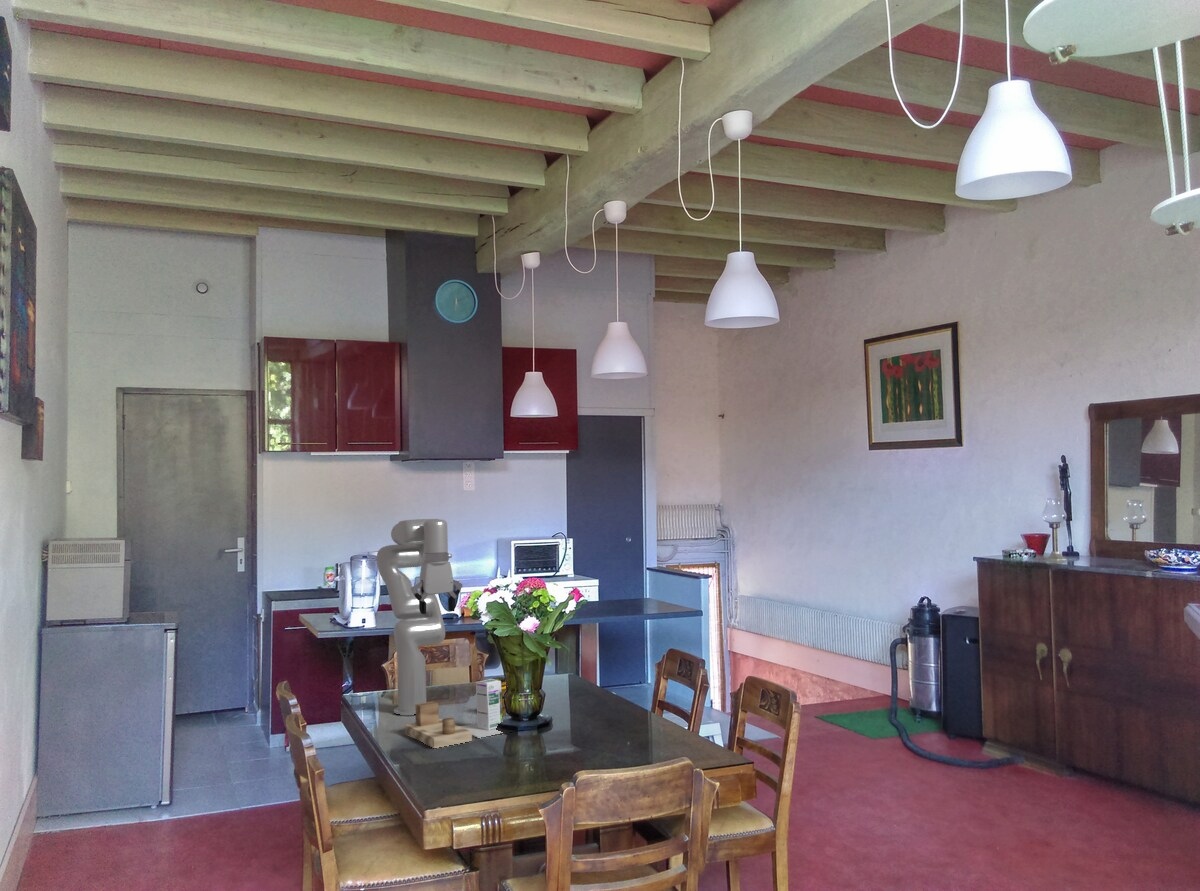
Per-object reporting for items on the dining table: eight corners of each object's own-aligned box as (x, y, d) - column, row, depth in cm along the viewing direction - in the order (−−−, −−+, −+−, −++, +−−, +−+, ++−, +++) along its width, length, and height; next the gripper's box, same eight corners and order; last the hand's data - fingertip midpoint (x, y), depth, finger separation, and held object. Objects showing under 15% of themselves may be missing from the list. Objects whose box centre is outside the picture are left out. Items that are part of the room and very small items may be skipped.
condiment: (513, 715, 312) (512, 678, 313) (490, 719, 307) (489, 681, 308) (503, 711, 318) (502, 675, 319) (480, 715, 313) (479, 678, 314)
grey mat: (455, 729, 295) (455, 727, 295) (501, 721, 304) (501, 719, 304) (478, 738, 281) (478, 736, 281) (525, 730, 290) (524, 728, 290)
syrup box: (488, 730, 288) (487, 683, 289) (476, 728, 293) (475, 680, 293) (503, 727, 293) (501, 680, 293) (491, 724, 297) (489, 678, 298)
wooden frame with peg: (405, 734, 290) (404, 705, 290) (441, 728, 296) (440, 699, 297) (434, 748, 271) (433, 717, 272) (471, 741, 278) (471, 711, 279)
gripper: (456, 556, 308) (457, 608, 307) (406, 559, 299) (407, 613, 298) (465, 557, 302) (467, 610, 301) (415, 560, 292) (416, 615, 291)
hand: (437, 612), depth 299 cm, fingers open, 9 cm apart
